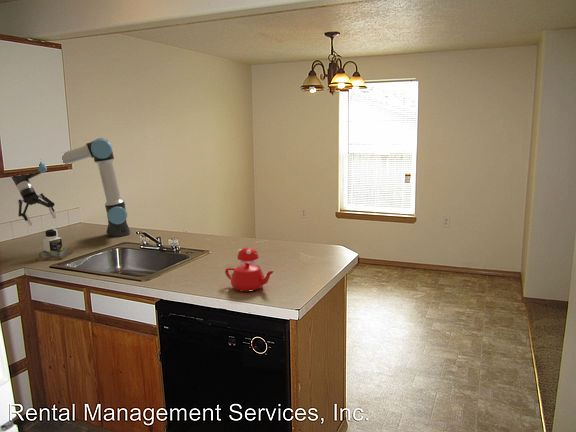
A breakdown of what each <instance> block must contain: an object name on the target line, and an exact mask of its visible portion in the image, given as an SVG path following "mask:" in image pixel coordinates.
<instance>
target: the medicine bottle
mask: <svg viewBox="0 0 576 432" xmlns="http://www.w3.org/2000/svg"><path fill="white" fill-rule="evenodd" d="M44 233H45V238H42V241H43V251H47V252H50V253H52V252H56V251H60V250H63V248H64V247H63V242H62V237H60V236H59V235H58V234H59V233H58V230H57V229H55V228H53V229H52V228H51V229H47V230H45V232H44Z"/></svg>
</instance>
